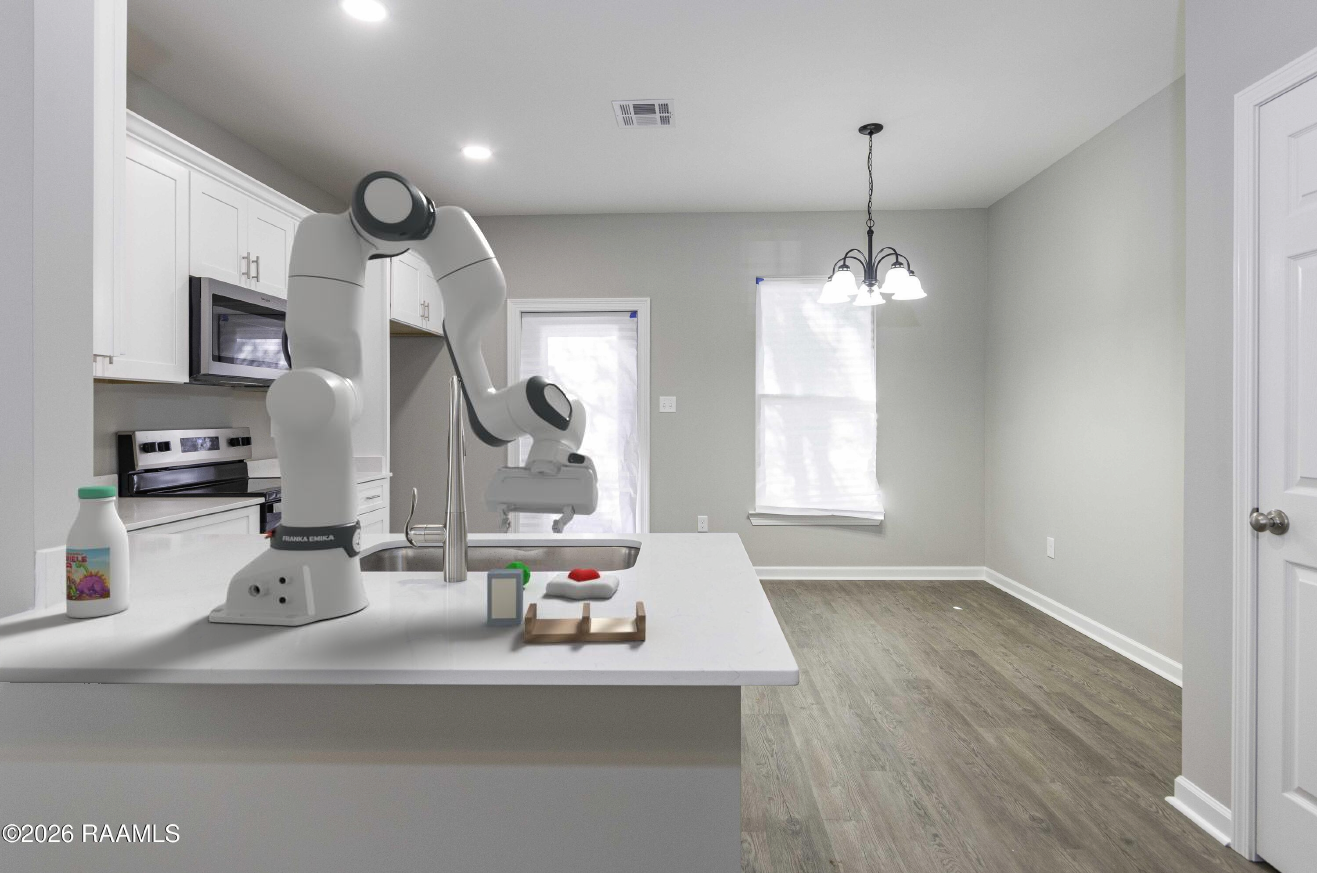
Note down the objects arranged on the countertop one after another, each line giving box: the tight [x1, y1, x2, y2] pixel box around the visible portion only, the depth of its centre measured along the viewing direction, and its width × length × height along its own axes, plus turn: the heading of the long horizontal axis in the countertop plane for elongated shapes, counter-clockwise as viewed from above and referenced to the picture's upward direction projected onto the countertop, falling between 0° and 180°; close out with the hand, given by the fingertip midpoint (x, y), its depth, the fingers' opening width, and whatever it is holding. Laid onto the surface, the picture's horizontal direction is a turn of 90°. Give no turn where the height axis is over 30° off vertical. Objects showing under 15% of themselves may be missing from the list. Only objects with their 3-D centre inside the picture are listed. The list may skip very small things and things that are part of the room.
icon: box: [545, 568, 620, 600], centre depth 120 cm, size 12×4×10 cm
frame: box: [486, 568, 524, 627], centre depth 102 cm, size 5×3×8 cm, turn 95°
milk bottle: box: [65, 485, 131, 619], centre depth 106 cm, size 8×8×20 cm
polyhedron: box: [503, 561, 531, 587], centre depth 123 cm, size 5×5×5 cm
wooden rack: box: [524, 601, 647, 644], centre depth 98 cm, size 17×7×4 cm, turn 95°
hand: (529, 530), depth 112 cm, fingers open, 8 cm apart
